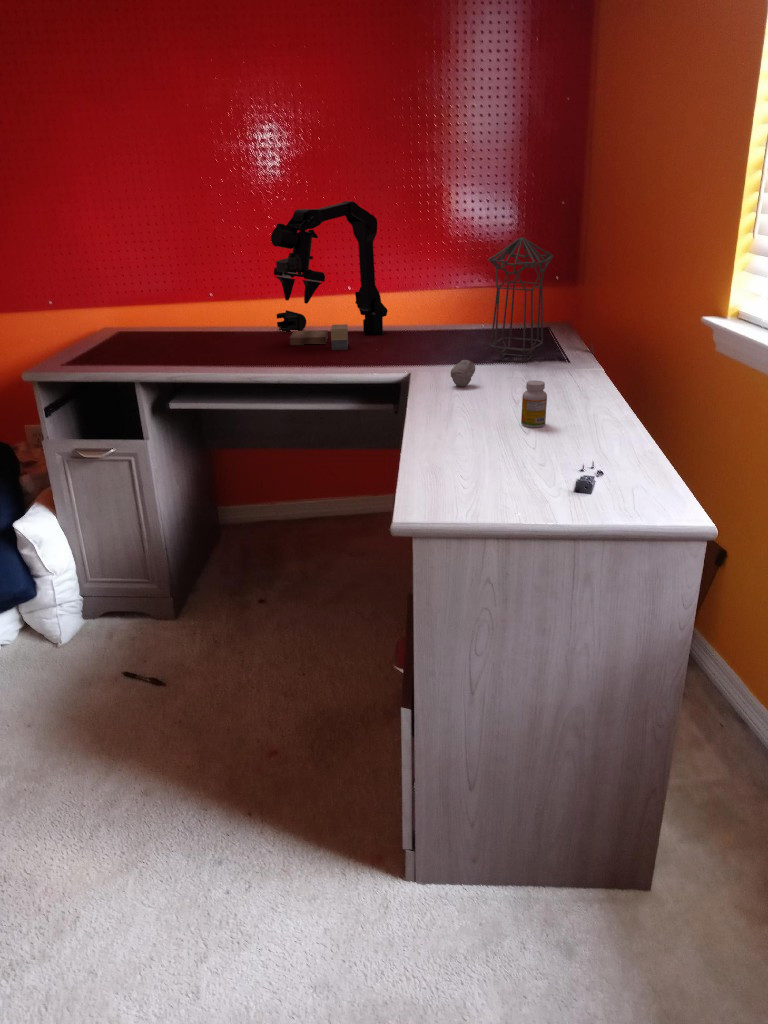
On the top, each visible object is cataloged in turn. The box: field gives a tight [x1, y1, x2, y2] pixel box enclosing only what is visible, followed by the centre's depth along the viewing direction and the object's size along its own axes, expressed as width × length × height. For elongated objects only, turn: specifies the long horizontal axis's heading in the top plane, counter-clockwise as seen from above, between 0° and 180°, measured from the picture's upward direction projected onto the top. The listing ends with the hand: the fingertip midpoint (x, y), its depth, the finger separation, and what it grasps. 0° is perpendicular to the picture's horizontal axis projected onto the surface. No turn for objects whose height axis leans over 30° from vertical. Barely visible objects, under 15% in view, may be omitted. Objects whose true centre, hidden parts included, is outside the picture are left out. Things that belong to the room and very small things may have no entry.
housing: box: [330, 324, 349, 351], centre depth 256 cm, size 5×8×7 cm, turn 0°
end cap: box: [276, 309, 307, 332], centre depth 285 cm, size 10×7×7 cm
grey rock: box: [450, 359, 476, 388], centre depth 208 cm, size 6×7×7 cm
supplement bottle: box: [520, 379, 548, 429], centre depth 175 cm, size 5×5×10 cm
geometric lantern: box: [487, 237, 554, 363], centre depth 230 cm, size 16×16×35 cm
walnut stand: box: [289, 329, 329, 346], centre depth 268 cm, size 12×12×2 cm
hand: (296, 301), depth 252 cm, fingers open, 9 cm apart
